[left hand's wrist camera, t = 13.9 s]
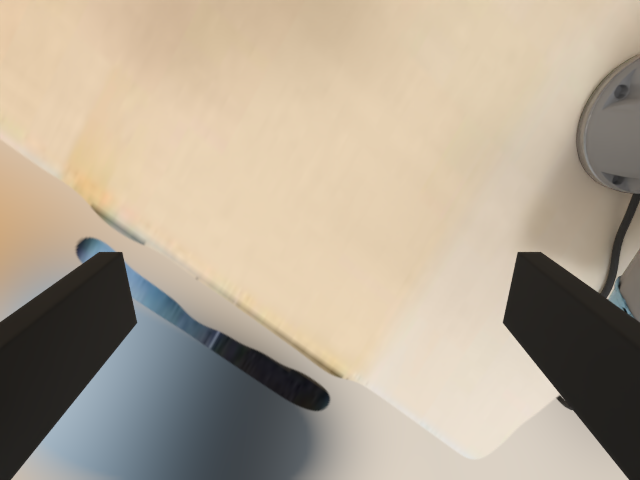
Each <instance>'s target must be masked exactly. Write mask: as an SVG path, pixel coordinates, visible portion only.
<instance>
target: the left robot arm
mask: <svg viewBox="0 0 640 480" xmlns="http://www.w3.org/2000/svg"><path fill="white" fill-rule="evenodd" d="M577 150H578V155H579V159H580V161H581V164H582V166H583V168H584V169H585V171H586V172H587V173H588V175H589V176H590V177H591V178H592V179H594V180H595V181H596V182H598V183H599V184H601V185H603V186H605V187H608V188H611V189H614V190H618V191H621V192H626V193H633V196H632V198H631V201H630V204H629V206H628V209H627V211H626V214H625V216H624V218H623V221H622V223H621V225H620V227H619V230H618V232H617V235H616V238H615V242H614V246H613V251H612V257H611V264H610V270H609V275H608V278H607V281H606V284H605V286H604V288H603V290H602V292H601V294H599V293H598V292H596V291H595V290H594V289H592V288H591V287H589V286H588V285H587V284H585V283H584V282H582V281H581V280H580V279H578V278H577V277H575V276H574V275H572V274H571V273H570V272H568V271H567V270H565V269H564V268H563V267H561V266H560V265H558V264H557V263H556V262H554V261H553V260H551V259H550V258H548V257H547V256H546V255H544V254H543V253H541V252H518V254H517V258H516V263H515V268H514V273H513V277H512V282H511V287H510V291H509V296H508V301H507V306H506V310H505V315H504V320H503V324H504V325H505V326H506V327H507V329H508V330H509V331H510V332H511V333H512V335H513V336H514V337H515V338H516V340H517V341H518V342H519V343H520V345H521V346H522V347H523V348H524V350H525V351H526V352H527V353H528V355H529V356H530V357H531V358H532V360H533V361H534V362H535V363H536V365H537V366H538V367H539V368H540V370H541V371H542V372H543V373H544V374H545V376H546V377H547V378H548V379H549V381H550V382H551V383H552V384H553V386H554V387H555V388H556V389H557V391H558V392H559V393H560V394H561V396H562V397H563V398H564V399H565V400H564V399H563V398H562V397H561V396H560V395H559V396H558V397H556V399H557V400H558V401H559V402H560V403H561V404H562V405H563V406H564V407H566V408H568V409H570V410H573V411H574V412H575V413H576V414H577V416H578V417H579V418H580V419H581V420H582V422H583V423H584V424H585V425H586V427H587V428H588V429H589V430H590V432H591V433H592V434H593V435H594V437H595V438H596V439H597V440H598V442H599V443H600V444H601V445H602V447H603V448H604V449H605V450H606V452H607V453H608V454H609V455H610V456H611V458H612V459H613V460H614V461H615V463H616V464H617V465H618V466H619V468H620V469H621V470H622V471H623V473H624V474H625V475H626V476H627V478H628V479H629V480H640V249H639V251H638V252H637V254H636V255H635V257H634V258H633V260H632V261H631V263H630V264H629V266H628V267H627V269H626V270H625V272H624V273H623V275H621V276H619V277H618V278H617V280H616V282H615V289H614V290H613V292H612V294H611V296H610V297H609V299H606V298H607V296H608V295H609V293H610V291H611V289H612V287H613V284H614V281H615V278H616V274H617V269H618V263H619V256H620V250H621V246H622V242H623V239H624V236H625V234H626V231H627V229H628V227H629V225H630V223H631V220H632V218H633V216H634V213H635V211H636V208H637V206H638V203H639V201H640V54H639V55H636V56H634V57H633V58H631V59H629V60H627V61H626V62H624V63H622V64H621V65H620V66H618V67H617V68H616V69H614V70H613V71H612V72H611V73H610V74H609V75H608V76H607V77H606V78H605V79H604V80H603V81H602V82H601V83H600V84H599V85H598V87H597V88H596V89H595V91H594V92H593V93H592V95H591V97H590V98H589V100H588V102H587V104H586V106H585V108H584V110H583V112H582V115H581V118H580V121H579V125H578V131H577ZM136 323H137V320H136V315H135V310H134V306H133V301H132V296H131V291H130V287H129V282H128V277H127V273H126V268H125V263H124V258H123V254H122V252H99V253H97V254H96V255H94V256H93V257H92V258H90V259H89V260H87V261H86V262H84V263H83V264H82V265H80V266H79V267H77V268H76V269H75V270H73V271H72V272H70V273H69V274H68V275H66V276H65V277H63V278H62V279H60V280H59V281H58V282H56V283H55V284H53V285H52V286H51V287H49V288H48V289H46V290H45V291H44V292H42V293H41V294H39V295H38V296H37V297H35V298H34V299H32V300H31V301H29V302H28V303H27V304H25V305H24V306H22V307H21V308H20V309H18V310H17V311H15V312H14V313H13V314H11V315H10V316H8V317H7V318H6V319H4V320H3V321H1V322H0V480H11V479H12V478H13V476H14V475H15V474H16V473H17V471H18V470H19V469H20V468H21V466H22V465H23V464H24V463H25V461H26V460H27V459H28V458H29V456H30V455H31V454H32V453H33V451H34V450H35V449H36V448H37V447H38V445H39V444H40V443H41V441H42V440H43V439H44V438H45V437H46V435H47V434H48V433H49V432H50V430H51V429H52V428H53V427H54V425H55V424H56V423H57V422H58V420H59V419H60V418H61V417H62V415H63V414H64V413H65V412H66V410H67V409H68V408H69V407H70V406H71V404H72V403H73V402H74V401H75V399H76V398H77V397H78V396H79V394H80V393H81V392H82V391H83V389H84V388H85V387H86V386H87V384H88V383H89V382H90V381H91V379H92V378H93V377H94V376H95V374H96V373H97V372H98V371H99V370H100V368H101V367H102V366H103V365H104V363H105V362H106V361H107V360H108V358H109V357H110V356H111V355H112V353H113V352H114V351H115V350H116V348H117V347H118V346H119V345H120V343H121V342H122V341H123V340H124V338H125V337H126V336H127V335H128V333H129V332H130V331H131V330H132V329H133V327H134V326H135V325H136Z"/></svg>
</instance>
